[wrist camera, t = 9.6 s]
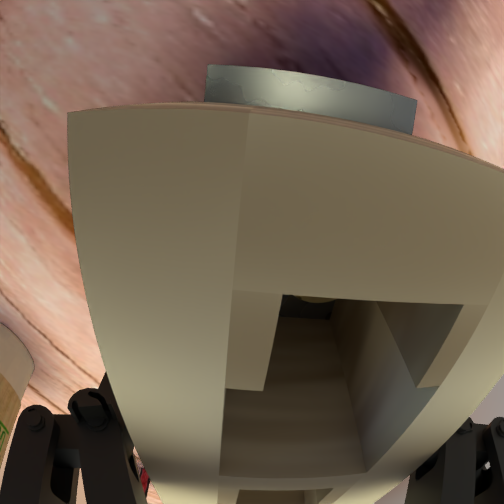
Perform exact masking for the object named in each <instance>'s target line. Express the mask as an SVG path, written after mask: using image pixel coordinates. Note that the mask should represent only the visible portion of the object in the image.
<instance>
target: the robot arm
mask: <svg viewBox="0 0 504 504" xmlns="http://www.w3.org/2000/svg"><path fill="white" fill-rule="evenodd" d="M68 409H69V411H70V413H71V414H70V415H62V414H52V413H51V411H50V410H49V409H47V408H46V407H44V406H42V405H32V406H29V407H27V408H26V409H24V410H23V411H22V413H21V414H20V416H19V418H18V422H17V425H16V428H15V432H14V436H13V439H12V443H11V446H10V450H9V454H8V458H7V462H6V466H5V471H4V476H3V480H2V485H1V490H0V504H76V495H77V485H78V477H79V469H80V468H81V472H82V479H83V485H84V491H85V497H86V502H87V504H147V500H146V497H145V494H144V490H143V486H142V483H141V479H140V475H139V471H138V468H137V463H136V459H135V455H134V453H133V449H134V444H133V441H132V439H131V437H130V434H129V432H128V430H127V427H126V425H125V422H124V420H123V417H122V415H121V412H120V409H119V407H118V404H117V401H116V399H115V396H114V393H113V390H112V387H111V384H110V381H109V378H108V375H107V372H105V375H104V377H103V379H102V381H101V384H100V386H99V388H98V389H95V388H86V389H82V390H79V391H78V392H76V393H75V394H73V396H72V397H71V398H70V400H69V403H68ZM487 462H490V468H489V469H486V467H485V464H486V463H487ZM405 504H504V418H503V417H497V418H495V419H494V420H493V421H492V422H491V423H490V424H489V425H485V424H484V425H483V424H475V423H473V421H472V420H471V418H470V417H468V419H467V420H466V421H465V422H464V423H463V424H462V425H461V426H460V427H459V428H458V430H457V431H456V432H455V433H454V434H453V435H452V436H451V437H450V438H449V439H448V440H447V441H446V442H445V443H444V444H443V445H442V446H441V447H440V448H439V449H438V450H437V451H436V452H435V453H434V454H433V455H431V456H430V457H429V458H428V459H427V460H426V461H425V462H424V463H423V464H422V465H420V466H419V467H418V468H417V469H416V470H415V471H414V472H412V473H411V474H410V479H409V484H408V489H407V494H406V499H405Z"/></svg>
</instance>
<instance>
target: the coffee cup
mask: <svg viewBox="0 0 504 504" xmlns="http://www.w3.org/2000/svg"><path fill="white" fill-rule="evenodd" d="M33 371H34V363H33V360H32V357H31V355H30V353H29V352H28V350H27V349H26V347H25V346H24V344H23V343H22V342H21V341H20V340H19V338H18V337H17V336H16V335H15V334H14V333H13V332H12V331H10V330H9V329H8V328H7V327H6V326H4V325H3V324H1V323H0V468H1V465H2V461H3V458H4V454H5V451H6V447H7V444H8V441H9V438H10V435H11V432H12V429H13V426H14V423H15V420H16V417H17V415H18V412H19V409H20V406H21V400H22V397H23V395H24V392H25V390H26V387H27V385H28V382H29V380H30V378H31V375H32V373H33Z"/></svg>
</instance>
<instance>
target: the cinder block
mask: <svg viewBox="0 0 504 504" xmlns="http://www.w3.org/2000/svg"><path fill="white" fill-rule="evenodd" d="M67 135H68V167H69V183H70V195H71V205H72V215H73V223H74V231H75V238H76V245H77V251H78V257H79V263H80V269H81V274H82V279H83V284H84V289H85V294H86V298H87V303H88V307H89V311H90V316H91V320H92V324H93V327H94V331H95V335H96V339H97V342H98V346H99V349H100V353H101V356H102V359H103V363H104V366H105V369H106V372H107V375H108V378H109V381H110V384H111V387H112V390H113V393H114V396H115V399H116V401H117V404H118V407H119V409H120V412H121V415H122V417H123V420H124V422H125V425H126V427H127V430H128V432H129V434H130V437H131V439H132V441H133V444H134V446H135V448H136V451H137V453H138V455H139V457H140V459H141V461H142V464H143V466H144V468H145V470H146V472H147V474H148V476H149V478H150V480H151V482H152V484H153V486H154V488H155V490H156V491H157V493H158V495H159V497H160V499H161V501H162V503H163V504H373V503H374V502H375V501H377V500H378V499H380V498H381V497H382V496H384V495H385V494H386V493H388V492H389V491H390V490H392V489H393V488H394V487H395V486H396V485H398V484H399V483H400V482H402V481H403V480H404V479H405V478H407V477H408V476H409V475H410V474H411V473H412V472H414V471H415V470H416V469H417V468H418V467H419V466H420V465H422V464H423V463H424V462H425V461H426V460H427V459H428V458H429V457H430V456H431V455H433V454H434V453H435V452H436V451H437V450H438V449H439V448H440V447H441V446H442V445H443V444H444V443H445V442H446V441H447V440H448V439H449V438H450V437H451V436H452V435H453V434H454V433H455V432H456V431H457V430H458V428H459V427H460V426H461V425H462V424H463V423H464V422H465V421H466V420H467V419H468V417H469V416H470V415H471V414H472V413H473V411H475V409H476V408H477V407H478V406H479V405H480V403H481V402H482V401H483V399H485V397H486V396H487V395H488V394H489V392H490V391H491V390H492V388H493V387H494V386H495V384H496V383H497V382H498V380H499V379H500V378H501V376H502V375H503V374H504V169H502V168H500V167H498V166H496V165H493V164H491V163H489V162H486V161H484V160H481V159H479V158H476V157H474V156H471V155H469V154H466V153H463V152H461V151H458V150H455V149H453V148H450V147H447V146H444V145H441V144H439V143H436V142H433V141H430V140H426V139H423V138H420V137H416V136H413V135H409V134H406V133H402V132H398V131H394V130H390V129H386V128H382V127H378V126H374V125H370V124H365V123H361V122H356V121H351V120H346V119H341V118H336V117H331V116H325V115H320V114H314V113H307V112H301V111H294V110H287V109H279V108H271V107H262V106H253V105H242V104H230V103H214V102H193V101H189V102H162V103H146V104H133V105H123V106H113V107H104V108H96V109H89V110H82V111H76V112H69V113H68V119H67ZM283 294H286V295H298V296H311V297H325V298H338V299H336V300H335V304H334V307H333V310H332V313H331V317H330V320H324V319H307V318H292V317H279V311H280V306H281V300H282V295H283Z"/></svg>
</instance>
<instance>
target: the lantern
mask: <svg viewBox="0 0 504 504" xmlns="http://www.w3.org/2000/svg"><path fill="white" fill-rule="evenodd" d="M140 479H141V483H142V486H143V490H144V494H145V497H147V492H148V488H149V483H150V478H149V476H148V474H147V472H146V470H145V468H142V469H141V473H140Z"/></svg>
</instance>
